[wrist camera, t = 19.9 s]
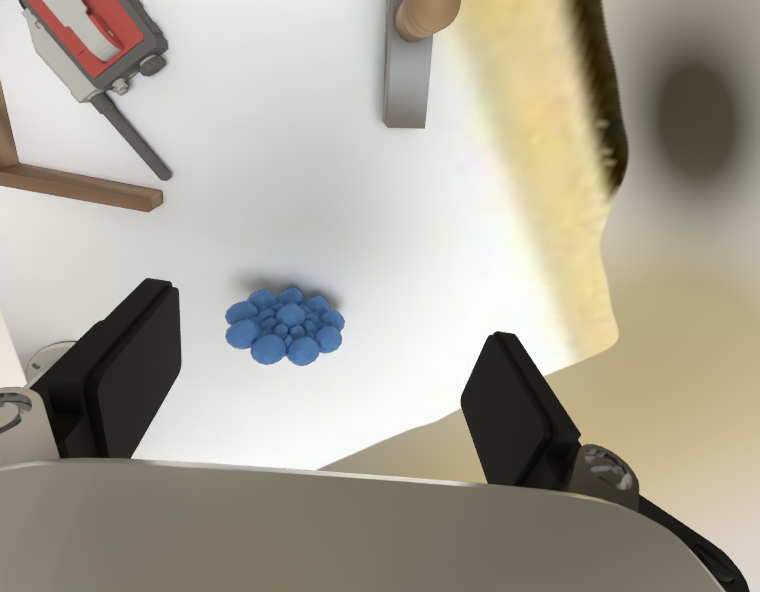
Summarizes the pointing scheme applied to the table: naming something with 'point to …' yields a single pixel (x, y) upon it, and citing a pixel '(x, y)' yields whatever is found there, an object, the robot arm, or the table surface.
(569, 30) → the table surface
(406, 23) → the scraper
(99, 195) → the dock
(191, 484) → the robot arm
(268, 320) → the grapes
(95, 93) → the walkie-talkie
